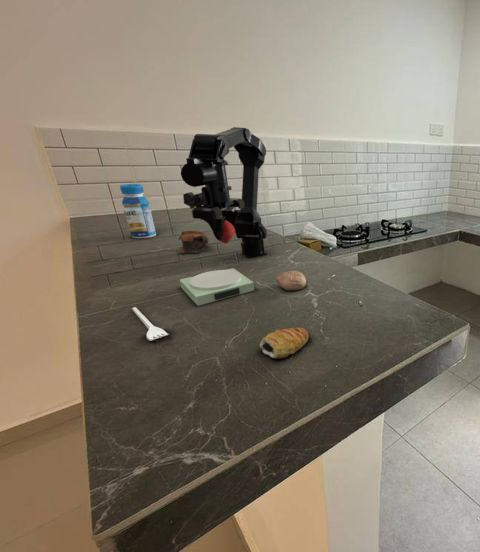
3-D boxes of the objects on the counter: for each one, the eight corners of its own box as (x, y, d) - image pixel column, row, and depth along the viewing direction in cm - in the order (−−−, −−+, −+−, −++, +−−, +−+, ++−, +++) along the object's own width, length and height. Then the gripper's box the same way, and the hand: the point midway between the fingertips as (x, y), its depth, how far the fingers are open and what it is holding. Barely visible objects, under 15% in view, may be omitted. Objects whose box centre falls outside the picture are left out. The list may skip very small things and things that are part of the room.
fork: (143, 308, 77) (141, 301, 77) (173, 340, 66) (171, 333, 65) (126, 312, 75) (123, 305, 74) (154, 347, 63) (152, 339, 63)
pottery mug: (171, 254, 113) (172, 231, 115) (196, 258, 122) (196, 237, 124) (197, 250, 110) (197, 226, 111) (220, 254, 119) (221, 233, 120)
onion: (227, 247, 94) (223, 219, 91) (210, 244, 95) (205, 218, 92) (240, 241, 99) (237, 216, 96) (224, 239, 100) (220, 214, 97)
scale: (234, 275, 98) (232, 265, 97) (255, 291, 89) (253, 280, 87) (181, 287, 88) (178, 276, 87) (198, 306, 79) (195, 294, 78)
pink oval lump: (269, 286, 92) (280, 288, 86) (274, 265, 93) (286, 266, 87) (293, 292, 97) (305, 294, 91) (298, 272, 98) (311, 273, 92)
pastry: (295, 331, 71) (294, 316, 70) (316, 342, 68) (316, 327, 66) (257, 351, 64) (254, 334, 62) (278, 364, 60) (276, 347, 59)
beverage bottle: (161, 236, 131) (149, 185, 124) (136, 240, 125) (122, 187, 117) (151, 232, 135) (139, 183, 128) (127, 236, 129) (112, 184, 121)
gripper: (205, 178, 99) (213, 228, 105) (165, 185, 82) (177, 244, 88) (242, 180, 99) (248, 229, 105) (209, 187, 82) (219, 246, 88)
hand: (224, 236), depth 96 cm, fingers closed on onion, 6 cm apart
